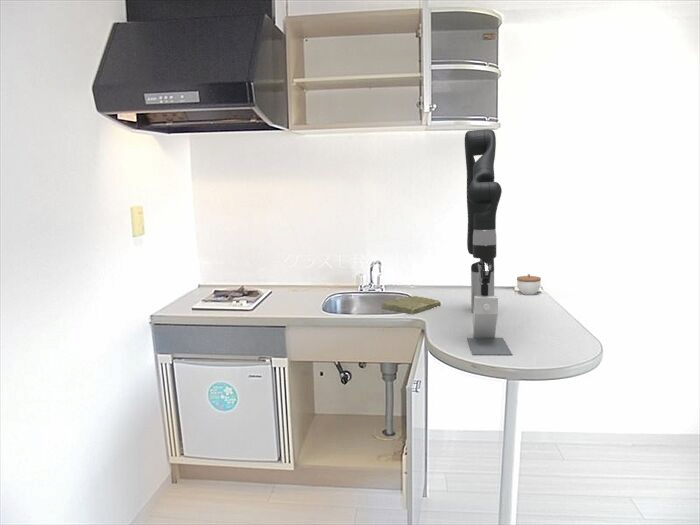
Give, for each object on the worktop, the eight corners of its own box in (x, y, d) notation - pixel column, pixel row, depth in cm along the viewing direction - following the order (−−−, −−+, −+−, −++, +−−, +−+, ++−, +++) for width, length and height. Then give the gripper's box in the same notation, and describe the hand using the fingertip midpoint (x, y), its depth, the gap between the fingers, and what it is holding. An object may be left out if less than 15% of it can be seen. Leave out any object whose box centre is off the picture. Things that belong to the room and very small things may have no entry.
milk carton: (472, 320, 182) (474, 288, 168) (493, 320, 181) (497, 288, 166) (473, 337, 178) (475, 306, 163) (494, 338, 176) (498, 307, 162)
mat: (467, 338, 177) (466, 337, 177) (502, 338, 175) (502, 337, 175) (472, 355, 159) (472, 354, 159) (512, 355, 158) (512, 354, 158)
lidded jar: (519, 296, 241) (519, 276, 240) (515, 291, 252) (515, 272, 250) (543, 295, 240) (543, 276, 238) (537, 291, 250) (537, 272, 249)
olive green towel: (441, 307, 228) (441, 299, 227) (412, 315, 214) (412, 307, 213) (408, 301, 241) (408, 294, 240) (379, 309, 227) (379, 301, 227)
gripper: (470, 242, 176) (470, 292, 177) (475, 245, 163) (475, 299, 164) (493, 241, 175) (493, 292, 176) (499, 244, 162) (499, 298, 163)
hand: (484, 295), depth 170 cm, fingers closed
